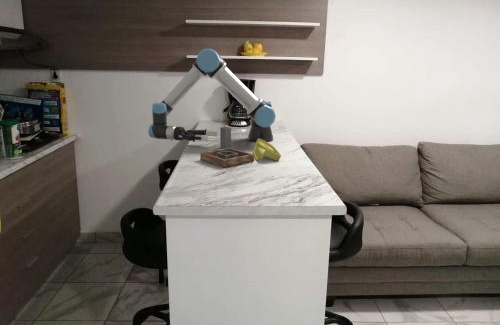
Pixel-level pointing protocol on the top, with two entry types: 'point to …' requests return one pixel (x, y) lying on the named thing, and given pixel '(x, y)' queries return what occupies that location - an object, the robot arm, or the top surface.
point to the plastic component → (265, 151)
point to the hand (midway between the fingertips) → (212, 136)
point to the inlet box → (227, 157)
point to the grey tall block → (225, 137)
